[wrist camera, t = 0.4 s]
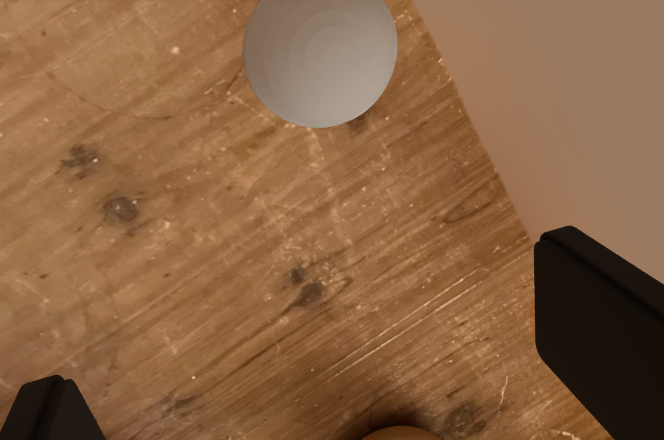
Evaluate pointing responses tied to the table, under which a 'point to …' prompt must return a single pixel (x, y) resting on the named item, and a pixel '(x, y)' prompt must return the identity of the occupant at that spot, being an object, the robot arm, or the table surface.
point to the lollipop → (319, 58)
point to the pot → (401, 434)
